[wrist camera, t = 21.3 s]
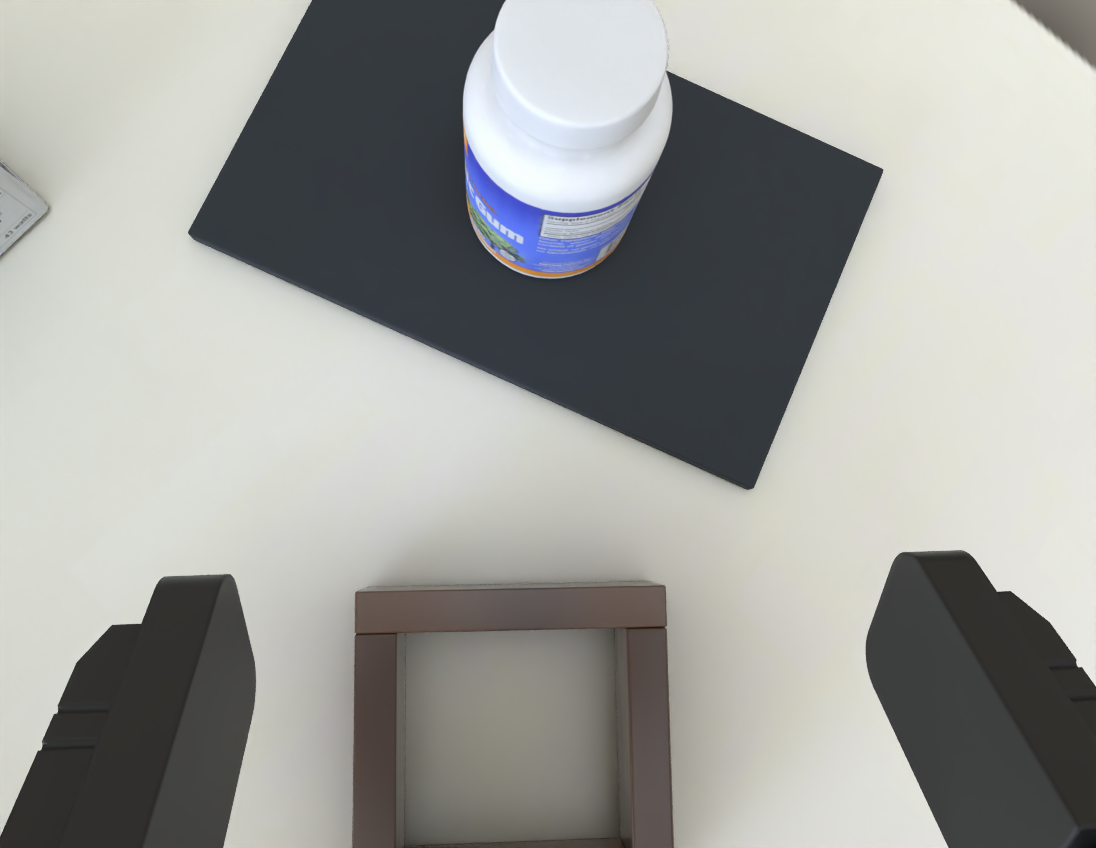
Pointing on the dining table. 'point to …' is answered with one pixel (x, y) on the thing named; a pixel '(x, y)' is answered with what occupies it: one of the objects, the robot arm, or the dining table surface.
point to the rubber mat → (540, 303)
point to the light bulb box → (16, 207)
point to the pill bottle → (564, 129)
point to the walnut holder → (504, 609)
